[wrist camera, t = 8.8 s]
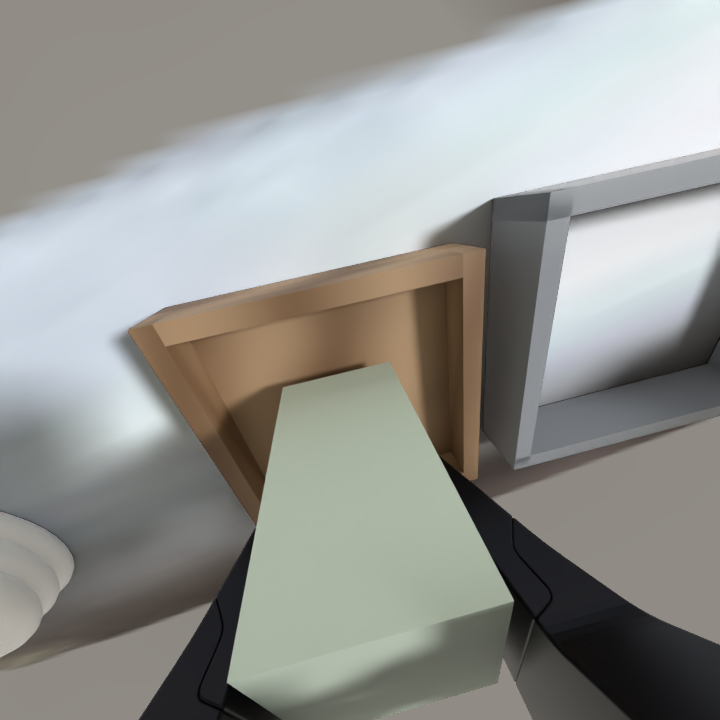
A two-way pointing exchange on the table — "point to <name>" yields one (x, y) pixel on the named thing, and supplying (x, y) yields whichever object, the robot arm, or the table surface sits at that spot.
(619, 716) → the robot arm
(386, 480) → the sage block
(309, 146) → the table surface
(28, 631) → the white round short cylinder
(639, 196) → the grey bin
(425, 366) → the wooden tray
